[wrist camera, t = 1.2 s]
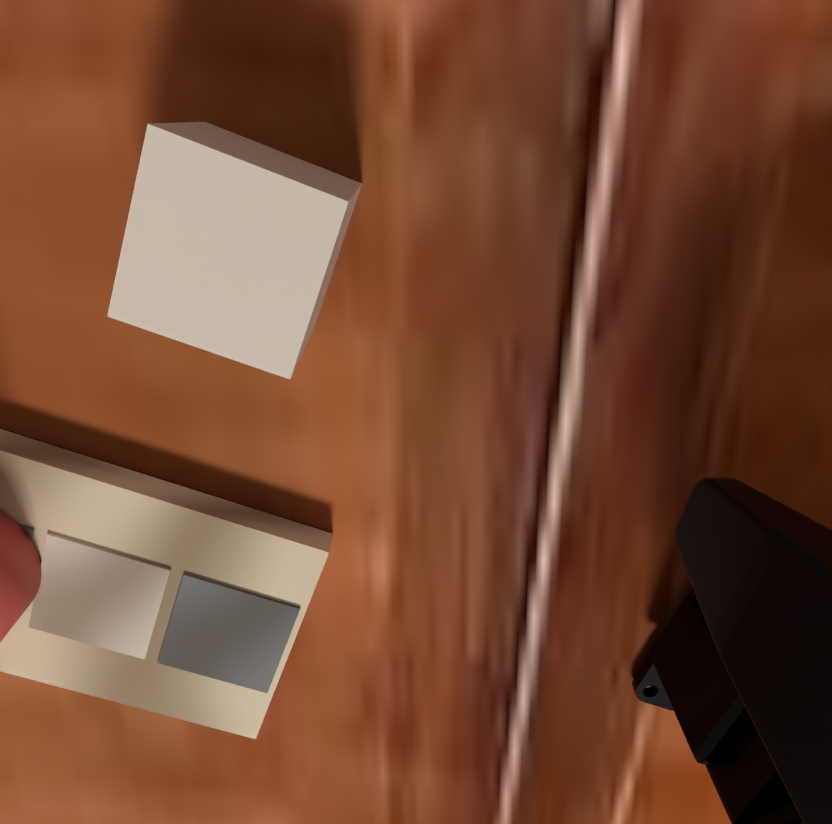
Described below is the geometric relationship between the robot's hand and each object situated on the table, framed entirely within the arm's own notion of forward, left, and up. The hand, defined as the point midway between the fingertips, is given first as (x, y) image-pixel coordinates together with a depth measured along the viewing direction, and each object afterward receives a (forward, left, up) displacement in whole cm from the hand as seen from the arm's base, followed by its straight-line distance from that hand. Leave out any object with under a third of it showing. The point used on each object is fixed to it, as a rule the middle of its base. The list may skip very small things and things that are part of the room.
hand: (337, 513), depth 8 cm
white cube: (+3, 0, -11) cm, 12 cm away
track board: (+9, +12, -11) cm, 19 cm away
